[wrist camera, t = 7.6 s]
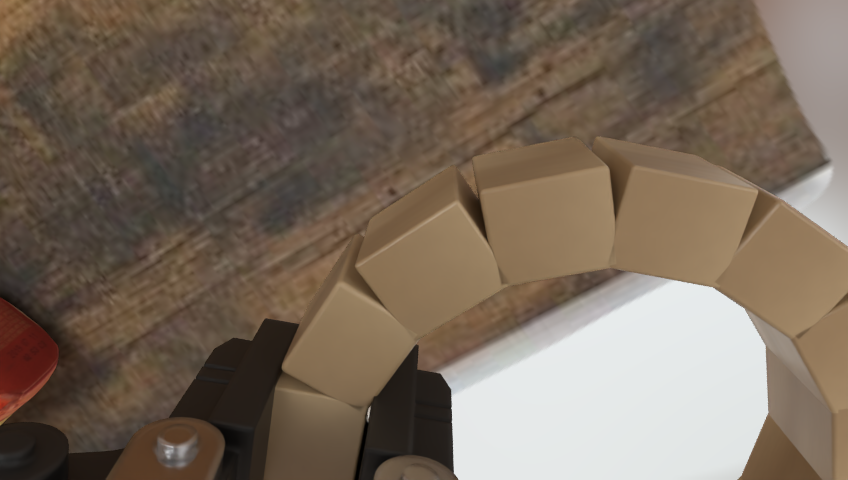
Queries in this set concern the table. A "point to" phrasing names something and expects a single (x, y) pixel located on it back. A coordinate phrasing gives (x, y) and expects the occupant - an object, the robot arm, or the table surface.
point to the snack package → (22, 359)
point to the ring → (562, 256)
